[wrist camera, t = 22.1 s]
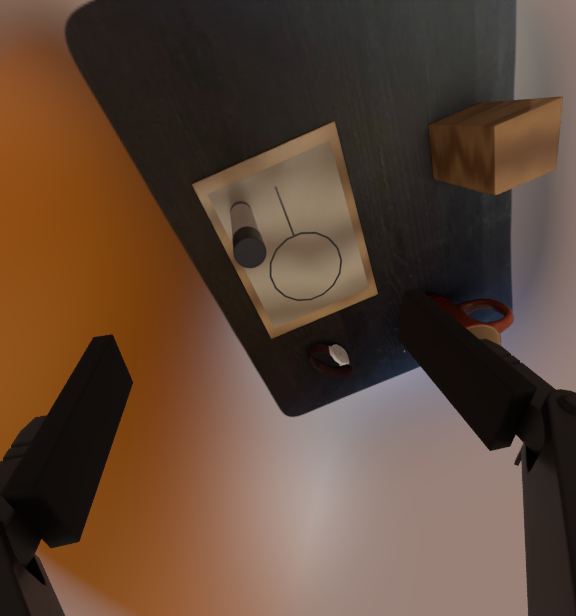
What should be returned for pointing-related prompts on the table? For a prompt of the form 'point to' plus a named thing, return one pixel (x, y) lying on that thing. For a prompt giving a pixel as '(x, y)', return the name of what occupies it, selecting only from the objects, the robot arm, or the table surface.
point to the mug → (476, 327)
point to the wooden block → (497, 144)
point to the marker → (246, 236)
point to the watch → (337, 355)
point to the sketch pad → (295, 229)
